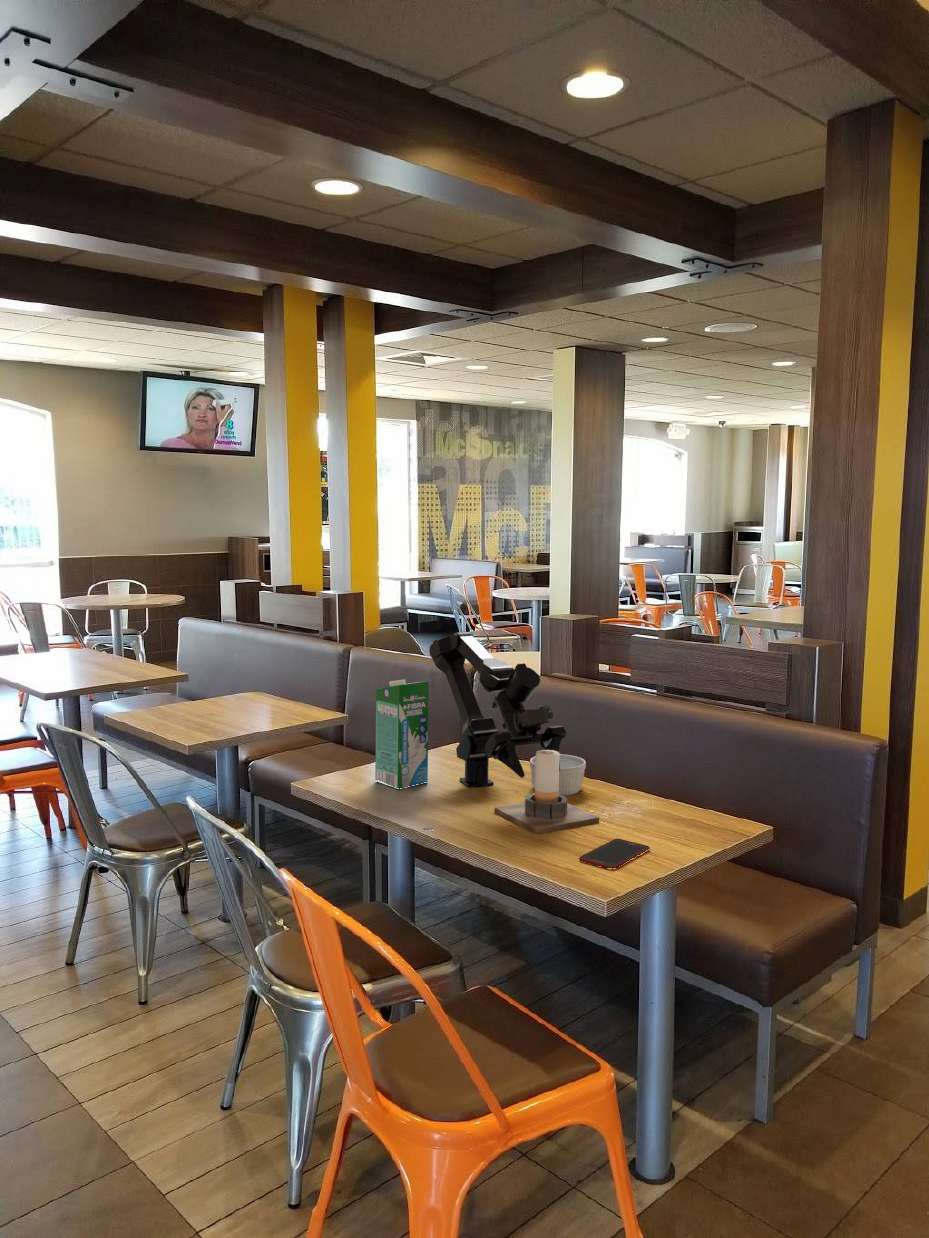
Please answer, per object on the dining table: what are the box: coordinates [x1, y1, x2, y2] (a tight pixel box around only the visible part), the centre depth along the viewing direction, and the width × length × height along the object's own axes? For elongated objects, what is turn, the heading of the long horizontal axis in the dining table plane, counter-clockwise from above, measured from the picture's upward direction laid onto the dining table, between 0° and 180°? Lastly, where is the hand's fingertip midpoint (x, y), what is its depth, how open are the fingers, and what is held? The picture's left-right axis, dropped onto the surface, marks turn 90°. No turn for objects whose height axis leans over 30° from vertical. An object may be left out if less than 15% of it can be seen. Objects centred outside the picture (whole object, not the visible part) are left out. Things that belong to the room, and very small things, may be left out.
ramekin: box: [529, 753, 587, 796], centre depth 221 cm, size 13×13×7 cm
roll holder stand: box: [494, 793, 600, 835], centre depth 200 cm, size 16×16×4 cm
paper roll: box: [534, 749, 561, 804], centre depth 200 cm, size 5×5×13 cm
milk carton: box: [374, 678, 430, 789], centre depth 224 cm, size 9×9×25 cm
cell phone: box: [578, 838, 650, 869], centre depth 178 cm, size 8×15×1 cm, turn 141°
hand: (541, 774), depth 202 cm, fingers open, 9 cm apart
